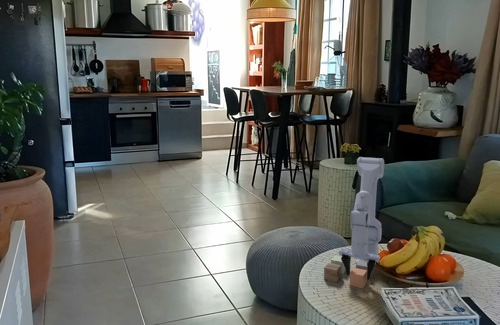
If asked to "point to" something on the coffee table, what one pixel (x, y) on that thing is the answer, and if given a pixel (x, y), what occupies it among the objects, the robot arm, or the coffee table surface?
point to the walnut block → (332, 272)
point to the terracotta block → (358, 277)
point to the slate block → (362, 265)
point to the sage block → (338, 262)
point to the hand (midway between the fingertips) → (358, 276)
